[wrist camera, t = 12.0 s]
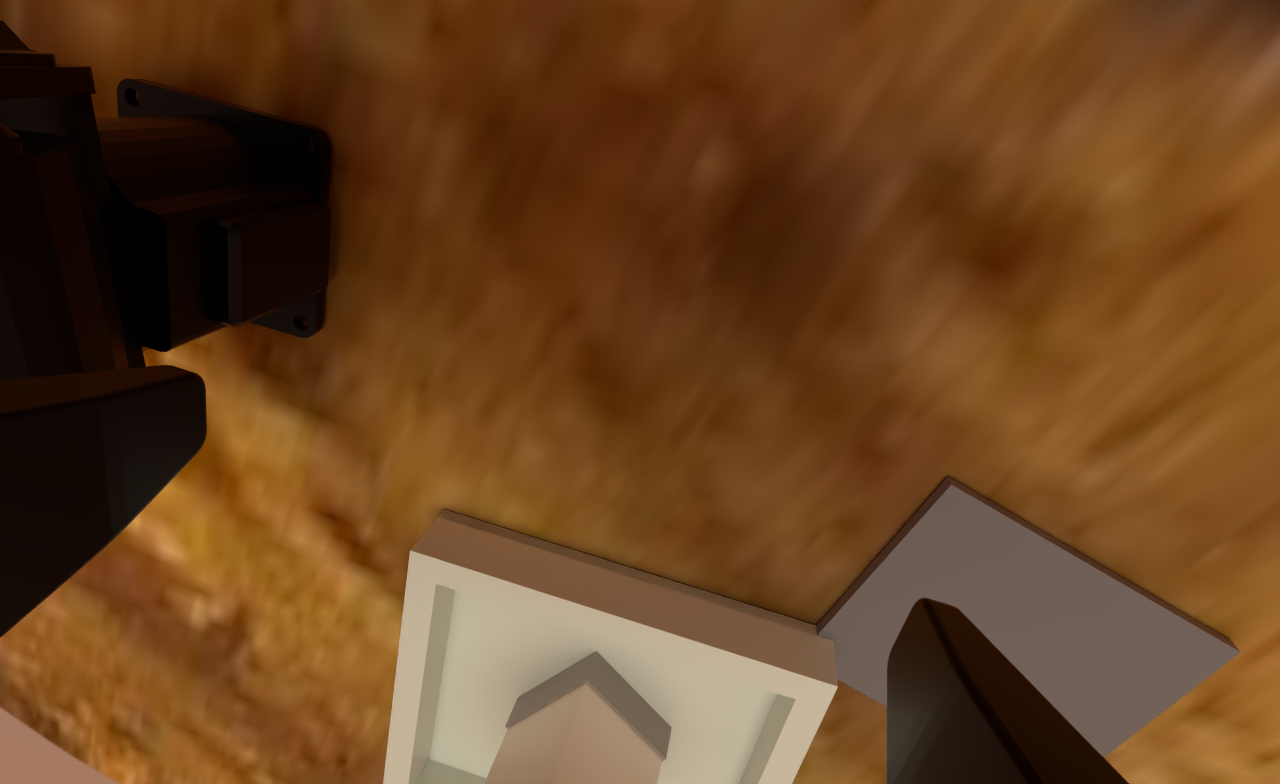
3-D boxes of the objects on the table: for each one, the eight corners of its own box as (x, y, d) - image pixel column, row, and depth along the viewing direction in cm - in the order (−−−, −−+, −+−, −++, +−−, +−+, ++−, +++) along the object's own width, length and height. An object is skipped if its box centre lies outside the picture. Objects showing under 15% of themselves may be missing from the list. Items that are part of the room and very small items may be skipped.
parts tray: (410, 757, 31) (379, 810, 28) (443, 509, 25) (410, 550, 23) (727, 865, 30) (722, 930, 27) (832, 630, 24) (838, 686, 22)
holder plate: (797, 646, 25) (798, 656, 24) (947, 476, 21) (951, 484, 21) (1044, 786, 25) (1049, 799, 25) (1231, 640, 22) (1240, 652, 21)
